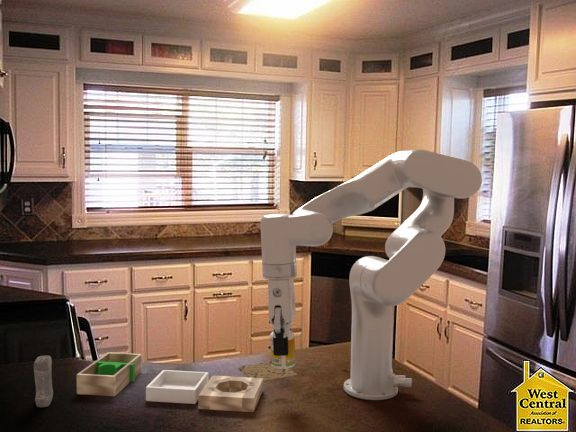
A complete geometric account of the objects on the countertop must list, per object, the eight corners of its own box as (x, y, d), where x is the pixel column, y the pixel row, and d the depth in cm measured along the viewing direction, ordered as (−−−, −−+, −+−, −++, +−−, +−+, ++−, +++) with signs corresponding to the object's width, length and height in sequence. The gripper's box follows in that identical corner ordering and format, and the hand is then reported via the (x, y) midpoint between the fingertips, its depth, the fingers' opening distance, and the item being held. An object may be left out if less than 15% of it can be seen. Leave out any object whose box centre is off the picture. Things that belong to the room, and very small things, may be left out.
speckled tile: (255, 384, 135) (255, 380, 135) (236, 369, 145) (236, 365, 145) (298, 377, 140) (298, 373, 140) (277, 362, 151) (277, 359, 151)
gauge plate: (262, 390, 130) (262, 378, 130) (253, 412, 118) (253, 398, 118) (212, 387, 131) (212, 375, 131) (198, 408, 119) (198, 395, 119)
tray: (208, 385, 133) (208, 372, 133) (195, 403, 122) (195, 390, 122) (163, 382, 134) (163, 369, 134) (145, 400, 123) (145, 387, 123)
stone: (54, 398, 124) (54, 353, 124) (49, 407, 119) (49, 361, 118) (37, 399, 124) (37, 354, 123) (32, 408, 118) (31, 362, 118)
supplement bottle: (294, 360, 127) (293, 318, 126) (296, 368, 122) (294, 325, 121) (271, 361, 127) (269, 319, 126) (271, 370, 122) (269, 326, 121)
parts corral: (141, 371, 142) (141, 354, 141) (114, 396, 126) (114, 376, 125) (108, 369, 143) (107, 352, 142) (76, 393, 127) (76, 374, 126)
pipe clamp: (87, 383, 133) (87, 365, 133) (94, 377, 137) (94, 360, 136) (128, 385, 131) (128, 367, 131) (135, 380, 135) (134, 362, 135)
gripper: (292, 277, 113) (295, 364, 115) (300, 263, 130) (303, 338, 132) (256, 278, 114) (259, 364, 116) (268, 263, 131) (271, 338, 133)
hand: (282, 349), depth 124 cm, fingers closed on supplement bottle, 5 cm apart
